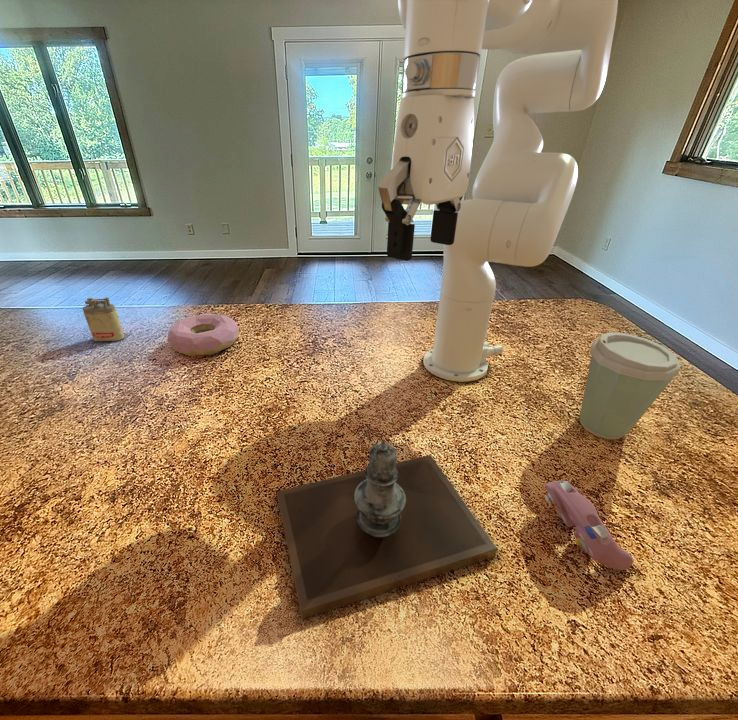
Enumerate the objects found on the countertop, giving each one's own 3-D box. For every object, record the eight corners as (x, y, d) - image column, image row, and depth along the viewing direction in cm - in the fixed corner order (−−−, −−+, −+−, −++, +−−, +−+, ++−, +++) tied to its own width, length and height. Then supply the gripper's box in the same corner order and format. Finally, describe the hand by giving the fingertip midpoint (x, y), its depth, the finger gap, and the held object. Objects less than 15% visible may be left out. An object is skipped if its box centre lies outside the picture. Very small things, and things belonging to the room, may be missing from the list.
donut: (253, 338, 89) (250, 319, 87) (202, 367, 78) (197, 346, 76) (208, 324, 97) (204, 305, 94) (155, 348, 86) (150, 328, 83)
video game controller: (544, 508, 49) (533, 476, 46) (579, 495, 49) (570, 461, 45) (595, 585, 41) (586, 552, 38) (638, 570, 40) (633, 536, 37)
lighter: (90, 342, 89) (75, 301, 84) (98, 334, 92) (84, 295, 87) (121, 341, 89) (107, 301, 84) (128, 334, 92) (115, 295, 87)
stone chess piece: (402, 543, 42) (411, 465, 36) (350, 534, 43) (350, 457, 37) (404, 500, 47) (413, 426, 41) (357, 493, 48) (359, 419, 42)
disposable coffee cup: (630, 414, 64) (669, 334, 56) (653, 458, 55) (702, 370, 47) (560, 402, 67) (587, 324, 59) (570, 442, 58) (604, 357, 50)
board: (429, 462, 55) (430, 454, 54) (495, 556, 42) (497, 548, 42) (277, 499, 49) (276, 491, 49) (301, 619, 37) (301, 611, 36)
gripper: (424, 68, 31) (407, 272, 40) (509, 85, 42) (481, 242, 51) (355, 78, 36) (353, 259, 44) (448, 91, 47) (431, 234, 55)
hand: (421, 250), depth 48 cm, fingers open, 9 cm apart
